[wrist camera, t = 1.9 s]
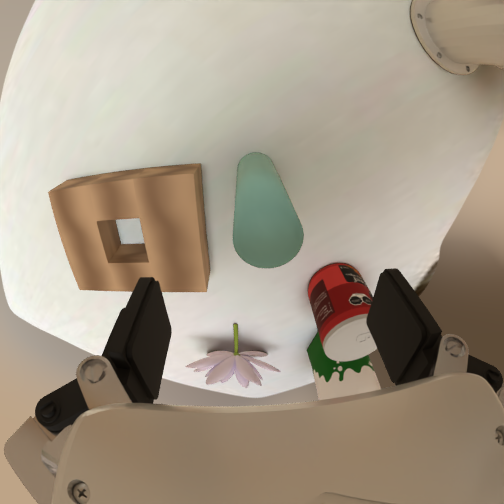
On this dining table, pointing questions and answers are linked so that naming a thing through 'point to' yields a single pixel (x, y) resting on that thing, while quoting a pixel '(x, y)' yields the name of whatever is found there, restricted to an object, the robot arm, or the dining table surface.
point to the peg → (264, 215)
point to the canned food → (341, 312)
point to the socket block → (152, 222)
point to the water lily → (232, 365)
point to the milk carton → (340, 374)
